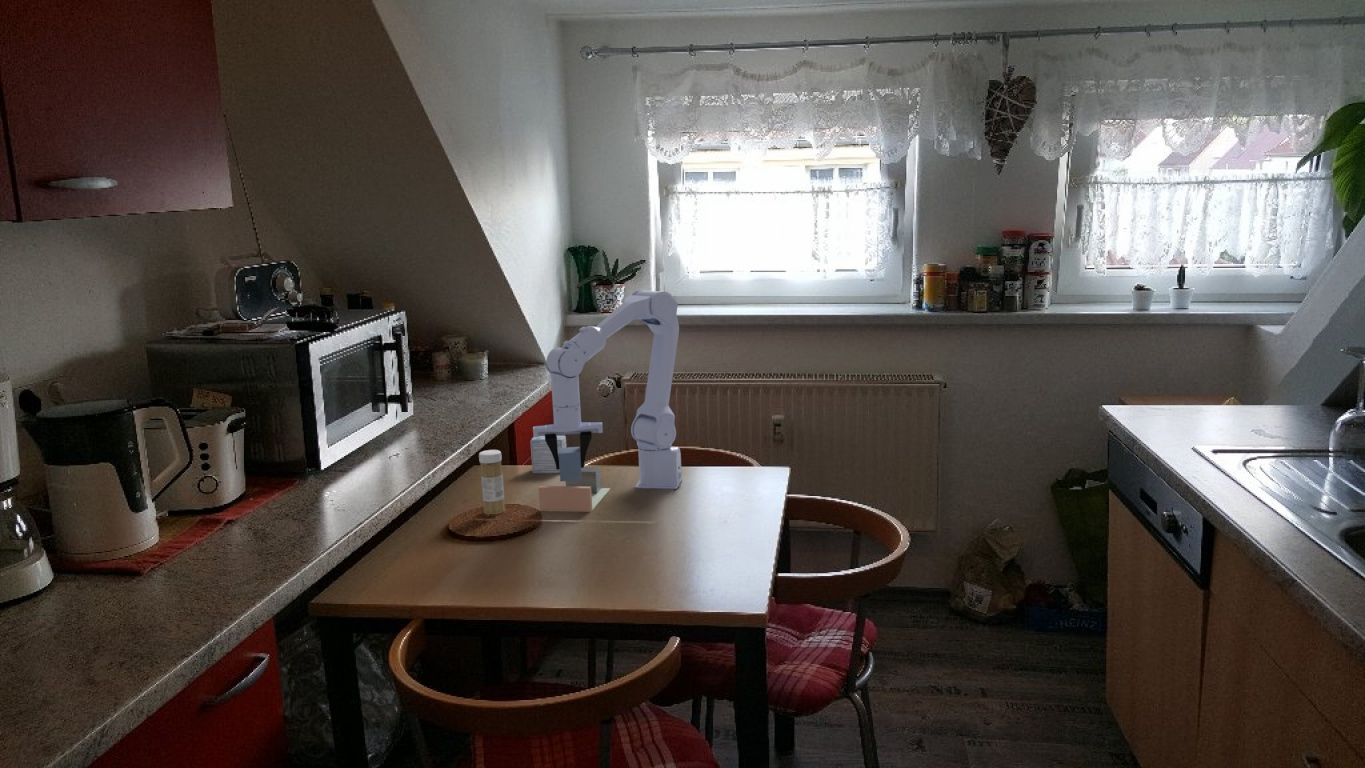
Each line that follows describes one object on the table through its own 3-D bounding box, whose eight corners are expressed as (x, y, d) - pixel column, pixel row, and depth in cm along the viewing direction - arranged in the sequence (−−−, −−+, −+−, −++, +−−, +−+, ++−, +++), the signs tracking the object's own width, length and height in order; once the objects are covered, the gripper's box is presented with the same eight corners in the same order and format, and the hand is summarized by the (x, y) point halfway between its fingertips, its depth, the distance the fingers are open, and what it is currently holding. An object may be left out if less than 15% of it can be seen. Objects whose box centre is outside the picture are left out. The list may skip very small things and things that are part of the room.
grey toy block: (601, 488, 219) (600, 466, 218) (597, 493, 215) (595, 471, 214) (571, 488, 220) (570, 466, 219) (566, 493, 216) (565, 471, 216)
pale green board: (610, 489, 219) (609, 466, 218) (591, 513, 203) (589, 488, 202) (563, 489, 221) (561, 466, 220) (540, 512, 205) (538, 487, 204)
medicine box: (568, 469, 238) (566, 435, 237) (564, 474, 234) (562, 439, 232) (536, 470, 239) (534, 435, 237) (532, 475, 235) (529, 439, 233)
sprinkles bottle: (498, 509, 208) (494, 448, 205) (509, 513, 204) (505, 451, 202) (479, 514, 205) (474, 452, 203) (490, 518, 202) (485, 455, 199)
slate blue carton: (581, 473, 210) (579, 446, 209) (581, 480, 205) (580, 452, 204) (560, 475, 210) (558, 448, 209) (560, 481, 205) (558, 453, 204)
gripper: (600, 399, 210) (603, 460, 212) (532, 403, 208) (536, 465, 210) (601, 405, 203) (605, 468, 205) (531, 409, 201) (535, 473, 203)
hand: (570, 467), depth 207 cm, fingers closed on slate blue carton, 4 cm apart
